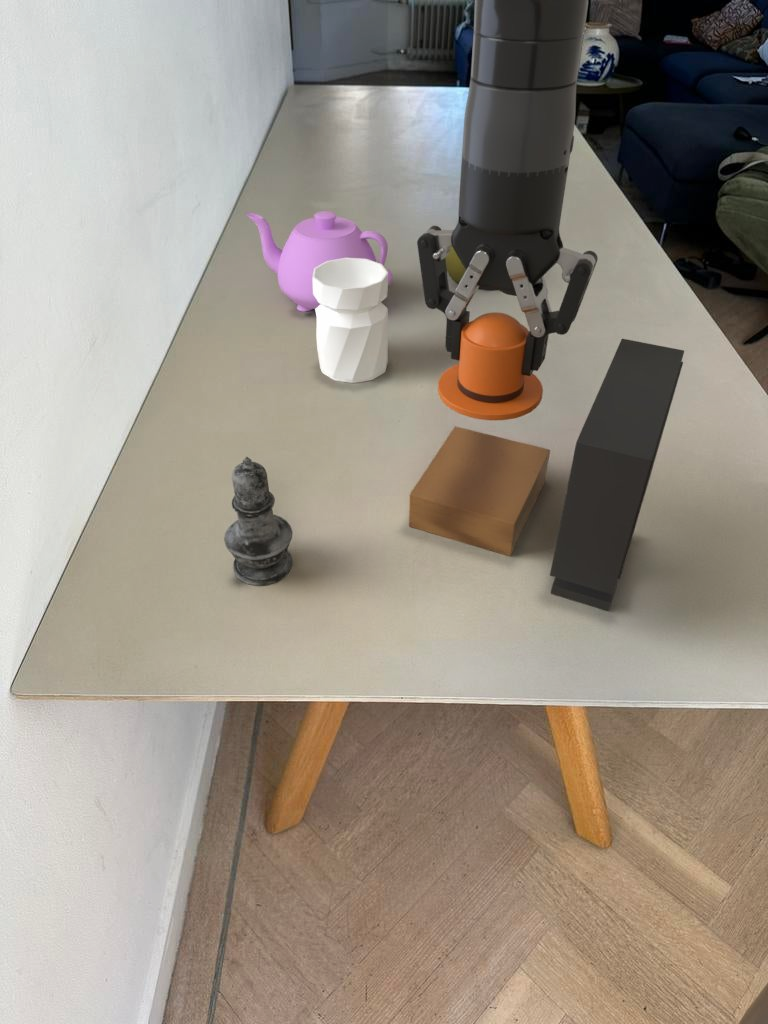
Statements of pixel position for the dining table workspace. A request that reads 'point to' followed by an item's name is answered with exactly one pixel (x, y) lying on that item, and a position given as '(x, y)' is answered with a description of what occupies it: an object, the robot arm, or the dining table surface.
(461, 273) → the apple
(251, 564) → the chess piece
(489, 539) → the stand
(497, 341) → the hat
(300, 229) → the teapot
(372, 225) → the dining table surface
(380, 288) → the vase
